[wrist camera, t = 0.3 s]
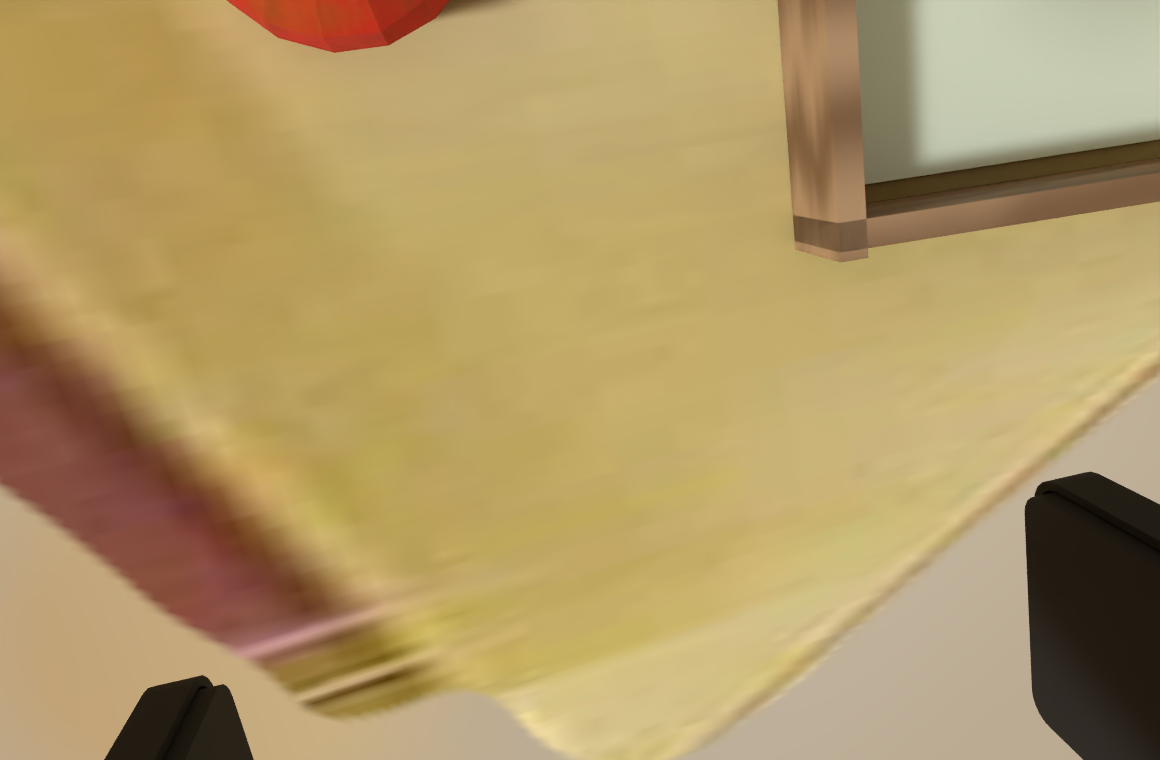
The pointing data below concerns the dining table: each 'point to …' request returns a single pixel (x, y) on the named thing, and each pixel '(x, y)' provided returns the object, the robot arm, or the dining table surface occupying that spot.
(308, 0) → the apple
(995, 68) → the mat
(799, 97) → the wooden corner frame
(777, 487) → the dining table surface
